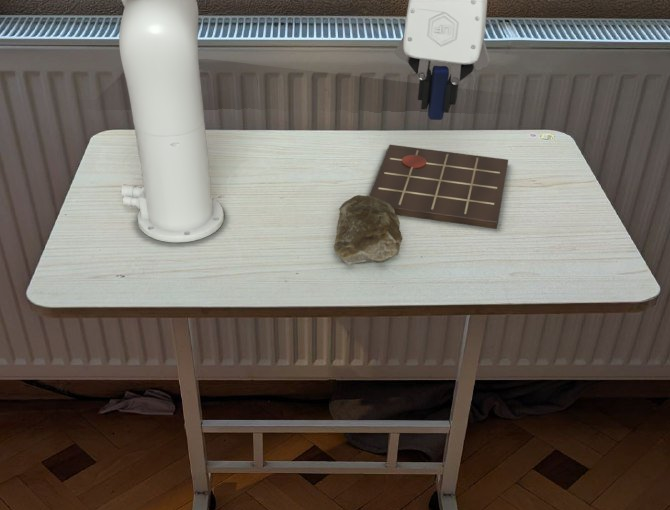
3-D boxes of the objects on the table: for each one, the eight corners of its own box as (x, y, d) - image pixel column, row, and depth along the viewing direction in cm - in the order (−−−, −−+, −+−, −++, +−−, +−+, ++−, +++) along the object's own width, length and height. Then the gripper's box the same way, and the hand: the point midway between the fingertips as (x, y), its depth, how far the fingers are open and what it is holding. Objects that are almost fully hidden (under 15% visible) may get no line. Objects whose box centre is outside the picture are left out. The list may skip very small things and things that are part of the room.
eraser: (427, 113, 117) (432, 64, 112) (443, 113, 117) (448, 65, 112) (427, 119, 115) (432, 70, 111) (443, 120, 115) (449, 71, 111)
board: (365, 210, 127) (366, 202, 126) (389, 150, 141) (389, 143, 140) (496, 229, 124) (498, 220, 123) (507, 166, 138) (508, 158, 137)
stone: (326, 212, 123) (361, 174, 118) (366, 240, 126) (401, 204, 122) (330, 262, 114) (368, 223, 110) (373, 291, 117) (412, 253, 113)
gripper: (382, -35, 101) (373, 110, 114) (515, -21, 99) (491, 126, 111) (395, -53, 106) (385, 88, 119) (521, -39, 104) (497, 103, 117)
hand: (436, 105), depth 115 cm, fingers closed on eraser, 2 cm apart
